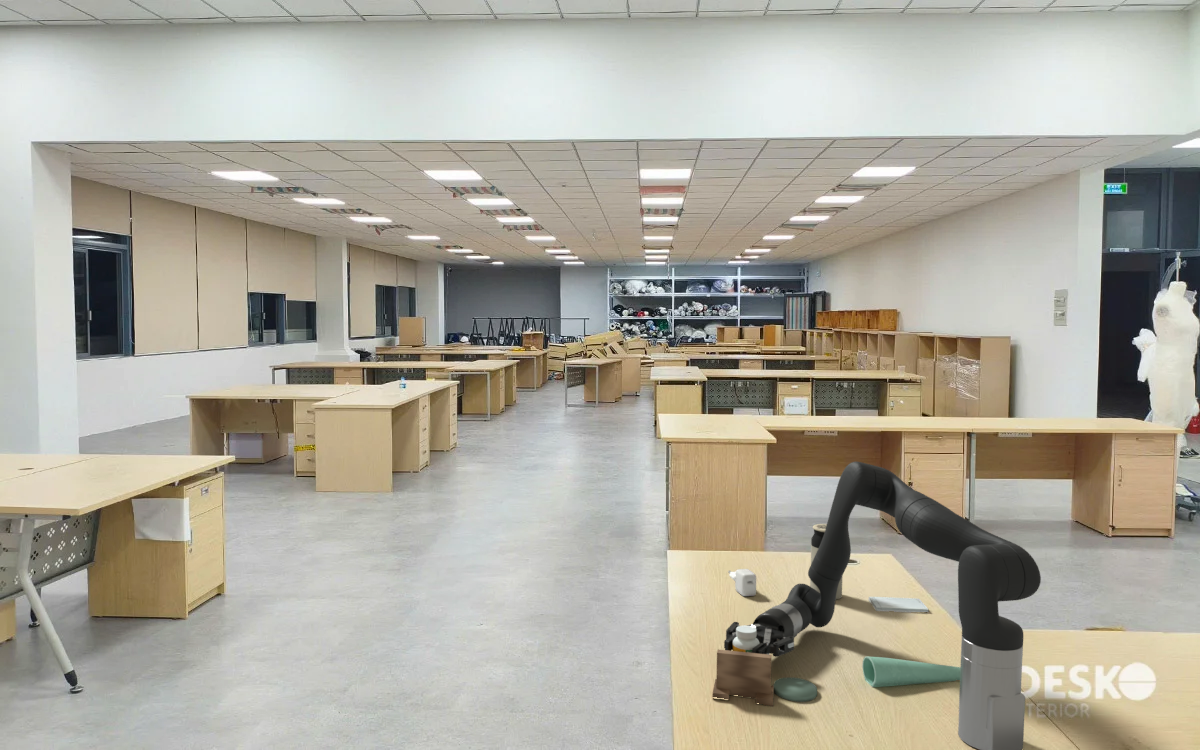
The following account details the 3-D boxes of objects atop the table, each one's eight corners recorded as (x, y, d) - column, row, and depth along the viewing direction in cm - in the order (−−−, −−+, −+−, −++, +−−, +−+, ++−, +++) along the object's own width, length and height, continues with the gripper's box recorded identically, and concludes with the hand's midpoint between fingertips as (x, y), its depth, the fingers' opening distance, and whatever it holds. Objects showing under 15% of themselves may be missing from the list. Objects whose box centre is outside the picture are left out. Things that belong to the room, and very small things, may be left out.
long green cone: (1003, 656, 156) (875, 663, 152) (1002, 684, 156) (874, 691, 152) (986, 646, 161) (862, 651, 157) (985, 672, 161) (861, 679, 158)
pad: (824, 699, 148) (824, 694, 148) (784, 703, 146) (784, 698, 146) (805, 680, 156) (805, 675, 156) (766, 684, 154) (766, 679, 154)
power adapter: (724, 584, 214) (725, 562, 214) (741, 583, 216) (742, 561, 215) (741, 597, 204) (741, 575, 203) (758, 596, 205) (759, 574, 204)
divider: (773, 691, 151) (774, 650, 150) (772, 706, 145) (773, 663, 145) (715, 685, 153) (716, 644, 153) (712, 699, 148) (713, 657, 147)
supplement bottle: (746, 668, 161) (747, 621, 161) (765, 678, 157) (766, 630, 156) (726, 674, 158) (727, 627, 158) (745, 684, 154) (746, 636, 153)
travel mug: (804, 591, 209) (806, 523, 208) (833, 589, 210) (835, 522, 209) (818, 601, 201) (819, 531, 200) (847, 600, 203) (849, 530, 201)
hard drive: (918, 597, 202) (868, 595, 203) (928, 609, 194) (876, 606, 195) (918, 604, 202) (868, 601, 203) (928, 615, 194) (876, 613, 195)
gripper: (748, 600, 173) (708, 623, 159) (810, 616, 164) (774, 641, 150) (747, 634, 173) (707, 659, 160) (810, 651, 164) (773, 679, 151)
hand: (740, 650), depth 155 cm, fingers closed on supplement bottle, 5 cm apart
